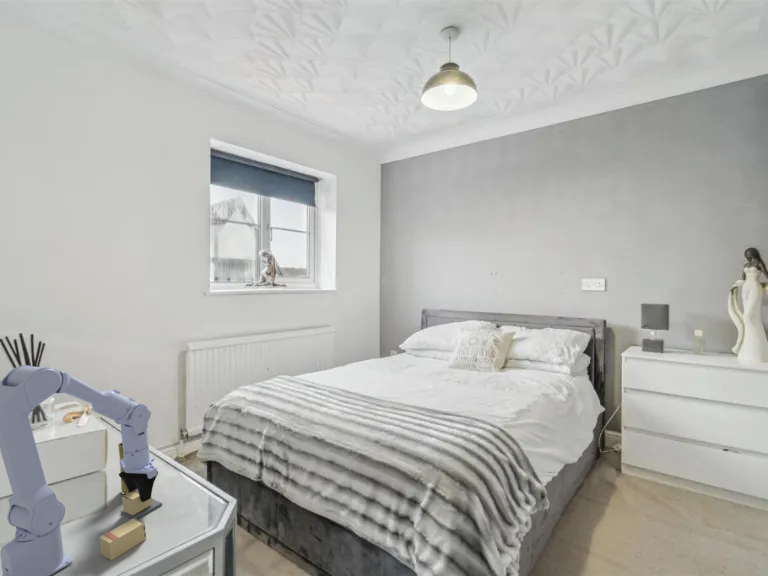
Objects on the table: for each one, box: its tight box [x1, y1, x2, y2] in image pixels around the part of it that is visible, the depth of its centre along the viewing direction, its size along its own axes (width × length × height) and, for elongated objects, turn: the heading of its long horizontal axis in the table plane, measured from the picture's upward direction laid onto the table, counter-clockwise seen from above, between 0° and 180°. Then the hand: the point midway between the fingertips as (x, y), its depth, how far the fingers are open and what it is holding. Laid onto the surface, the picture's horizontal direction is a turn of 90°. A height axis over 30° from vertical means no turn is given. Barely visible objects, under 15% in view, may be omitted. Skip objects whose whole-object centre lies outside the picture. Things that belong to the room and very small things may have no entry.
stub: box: [121, 489, 153, 515], centre depth 103 cm, size 5×4×4 cm
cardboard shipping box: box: [99, 518, 147, 562], centre depth 90 cm, size 8×4×4 cm, turn 150°
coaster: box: [120, 498, 163, 520], centre depth 104 cm, size 7×7×1 cm
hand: (140, 497), depth 104 cm, fingers open, 5 cm apart
